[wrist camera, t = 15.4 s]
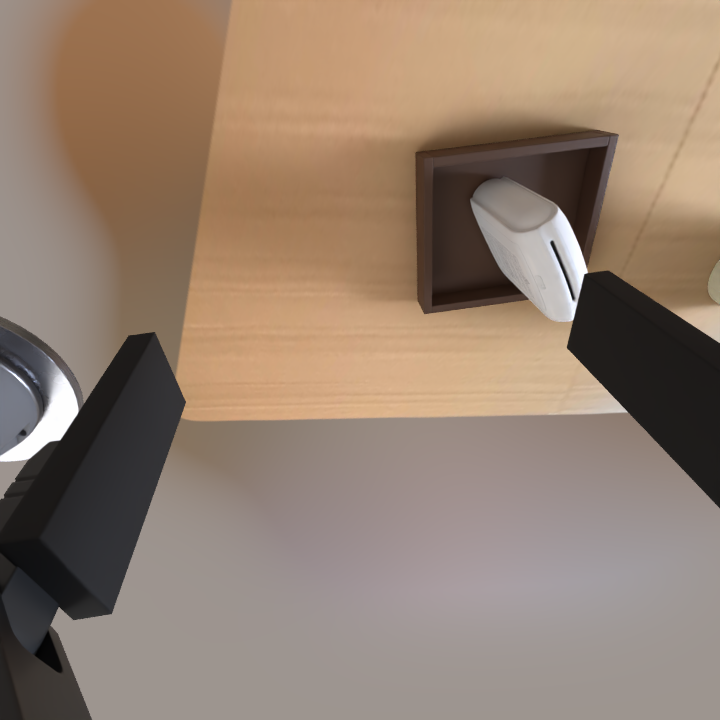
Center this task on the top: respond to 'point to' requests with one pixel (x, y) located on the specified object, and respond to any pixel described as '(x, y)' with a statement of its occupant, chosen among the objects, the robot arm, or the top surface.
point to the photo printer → (531, 245)
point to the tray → (460, 228)
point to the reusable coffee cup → (715, 283)
